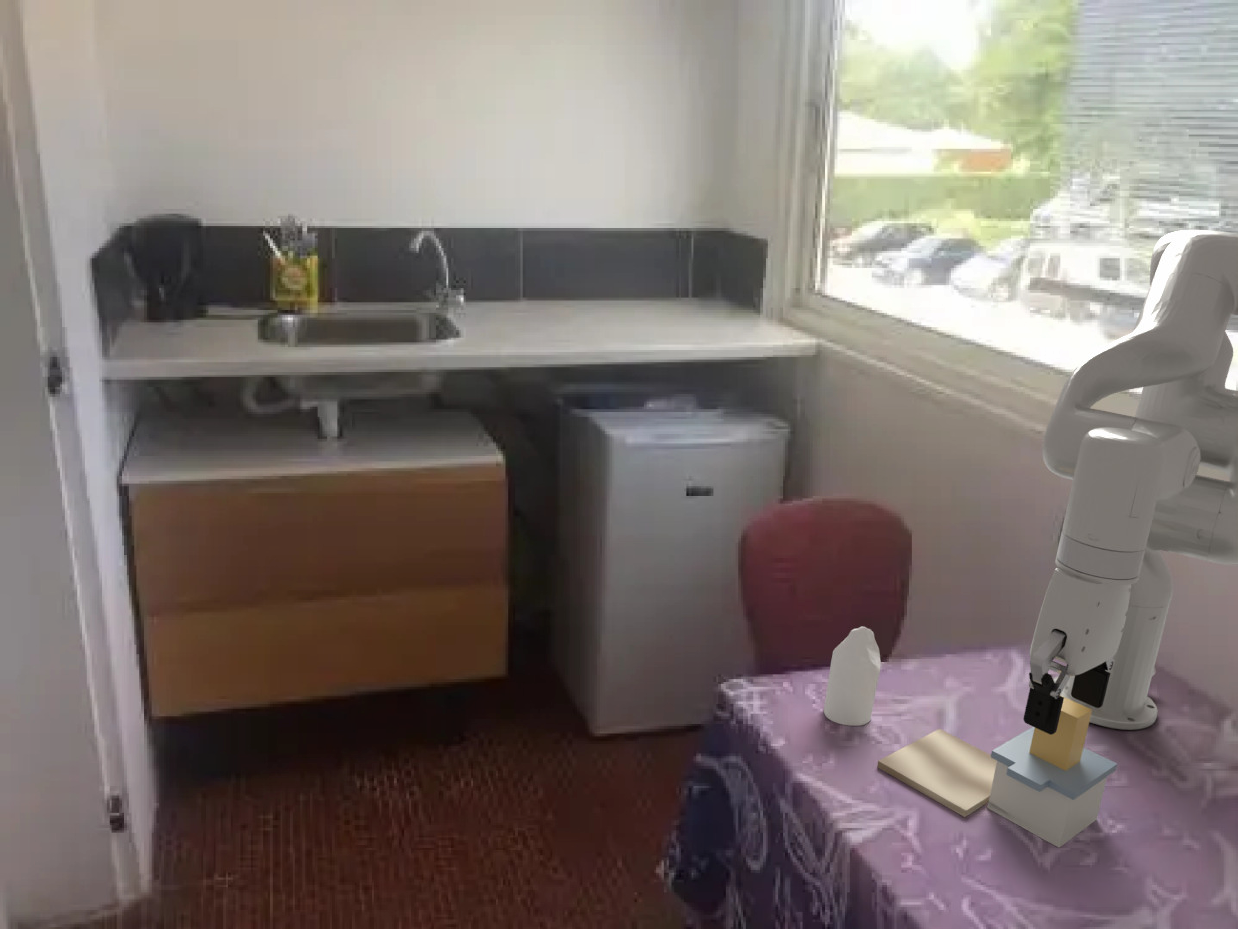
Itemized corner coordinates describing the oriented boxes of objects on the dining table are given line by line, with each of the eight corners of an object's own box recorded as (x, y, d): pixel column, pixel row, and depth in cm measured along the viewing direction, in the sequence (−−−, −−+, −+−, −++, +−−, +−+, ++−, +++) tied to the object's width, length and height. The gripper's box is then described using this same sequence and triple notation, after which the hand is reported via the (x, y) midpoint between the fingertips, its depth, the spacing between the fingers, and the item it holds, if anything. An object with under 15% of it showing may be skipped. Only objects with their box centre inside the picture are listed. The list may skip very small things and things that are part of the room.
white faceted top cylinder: (866, 611, 130) (898, 630, 125) (852, 699, 133) (882, 722, 129) (826, 617, 127) (857, 638, 122) (813, 708, 131) (842, 731, 126)
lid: (1034, 731, 117) (1046, 675, 115) (1115, 770, 111) (1130, 712, 109) (982, 762, 110) (994, 703, 108) (1065, 805, 104) (1079, 744, 102)
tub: (1026, 783, 118) (1036, 735, 117) (1096, 819, 113) (1108, 769, 111) (987, 808, 113) (997, 758, 111) (1059, 847, 108) (1071, 796, 106)
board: (938, 734, 127) (939, 728, 127) (1024, 779, 119) (1025, 773, 119) (877, 767, 119) (878, 760, 119) (964, 817, 111) (966, 810, 111)
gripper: (1102, 530, 113) (1069, 678, 117) (1018, 559, 101) (984, 722, 106) (1176, 553, 107) (1137, 708, 112) (1095, 586, 96) (1056, 756, 101)
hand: (1063, 714), depth 109 cm, fingers open, 9 cm apart
